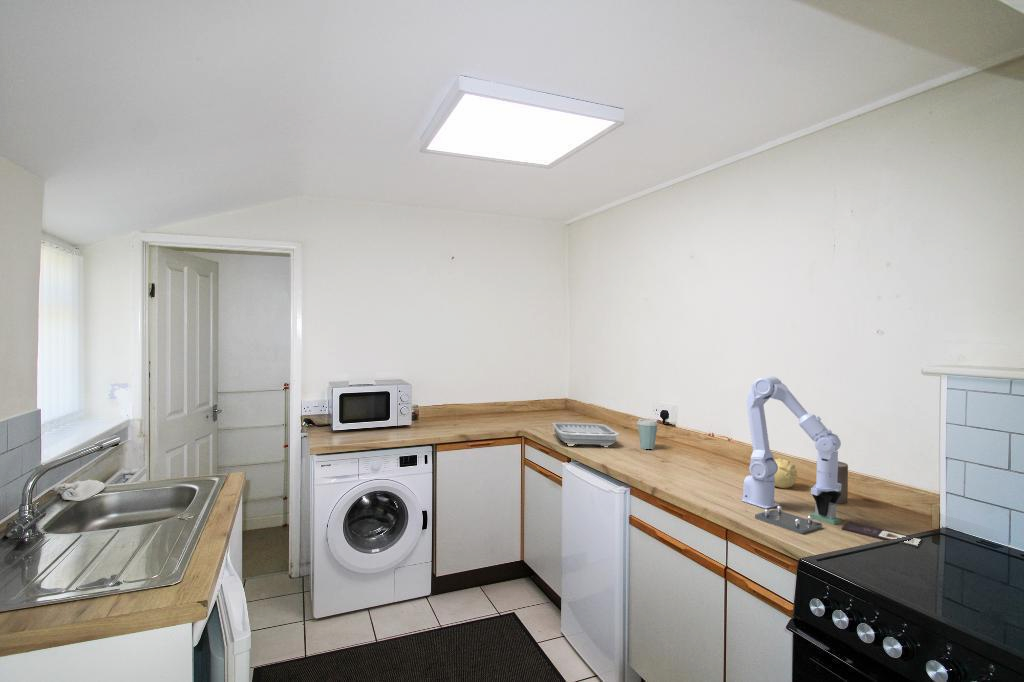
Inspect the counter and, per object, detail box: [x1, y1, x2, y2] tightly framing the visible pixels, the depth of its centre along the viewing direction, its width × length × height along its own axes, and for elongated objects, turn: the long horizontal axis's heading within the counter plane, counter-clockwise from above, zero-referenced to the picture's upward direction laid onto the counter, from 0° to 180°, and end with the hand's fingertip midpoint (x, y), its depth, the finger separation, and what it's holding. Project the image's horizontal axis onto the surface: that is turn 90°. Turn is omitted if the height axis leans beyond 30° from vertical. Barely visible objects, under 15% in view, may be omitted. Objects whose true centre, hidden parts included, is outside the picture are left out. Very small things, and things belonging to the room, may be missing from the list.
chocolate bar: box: [841, 520, 922, 549], centre depth 155 cm, size 9×1×18 cm
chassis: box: [754, 505, 823, 535], centre depth 163 cm, size 15×11×3 cm
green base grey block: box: [809, 502, 842, 526], centre depth 167 cm, size 7×4×6 cm, turn 32°
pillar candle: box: [816, 460, 849, 505], centre depth 187 cm, size 10×10×15 cm
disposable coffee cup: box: [636, 418, 659, 450], centre depth 266 cm, size 11×11×15 cm
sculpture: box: [774, 458, 798, 489], centre depth 205 cm, size 12×12×11 cm
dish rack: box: [551, 421, 620, 447], centre depth 280 cm, size 32×37×8 cm
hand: (825, 514), depth 167 cm, fingers closed on green base grey block, 3 cm apart
